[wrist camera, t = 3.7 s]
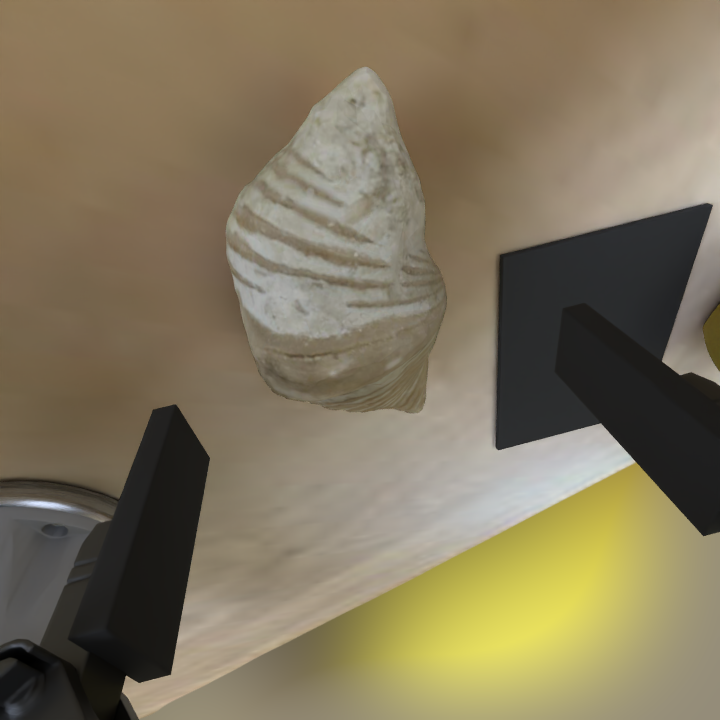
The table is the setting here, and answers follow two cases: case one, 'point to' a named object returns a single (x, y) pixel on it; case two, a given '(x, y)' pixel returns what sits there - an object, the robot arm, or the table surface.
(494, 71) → the table surface
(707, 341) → the flower pot
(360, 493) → the table surface
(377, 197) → the seashell
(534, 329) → the mat
